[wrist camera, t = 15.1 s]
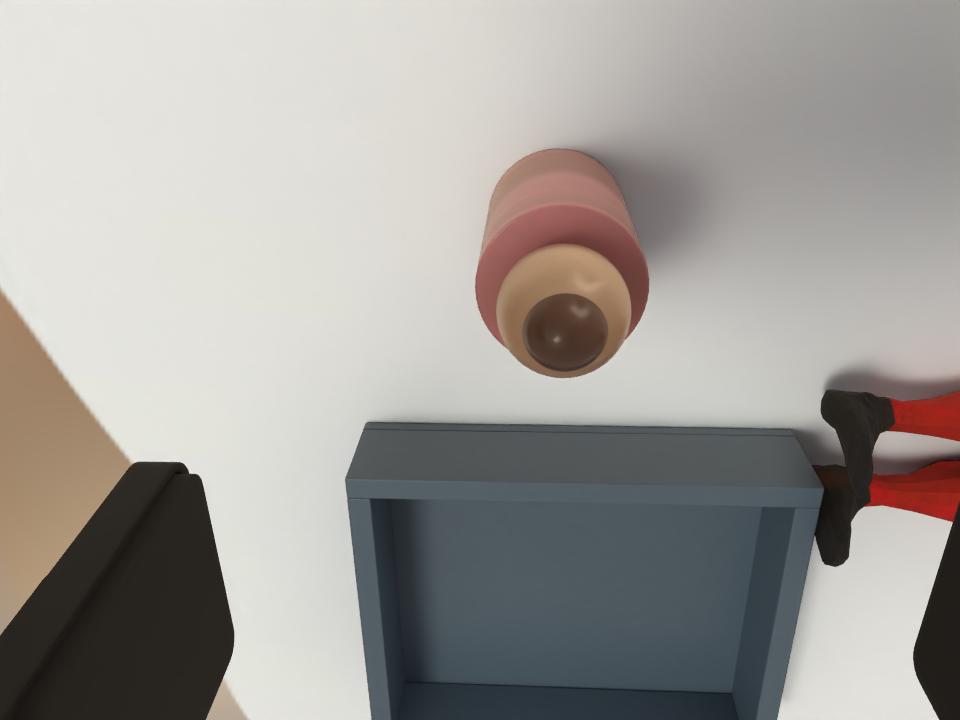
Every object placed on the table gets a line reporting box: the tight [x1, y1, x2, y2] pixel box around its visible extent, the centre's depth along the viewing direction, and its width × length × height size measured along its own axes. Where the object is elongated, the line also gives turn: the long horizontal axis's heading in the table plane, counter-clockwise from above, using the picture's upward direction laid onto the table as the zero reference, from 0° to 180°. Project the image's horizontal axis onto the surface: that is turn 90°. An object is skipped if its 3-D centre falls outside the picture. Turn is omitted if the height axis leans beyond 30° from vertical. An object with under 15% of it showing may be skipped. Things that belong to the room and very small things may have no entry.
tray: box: [345, 423, 824, 720], centre depth 31 cm, size 14×16×4 cm
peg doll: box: [475, 149, 649, 378], centre depth 22 cm, size 4×4×10 cm
